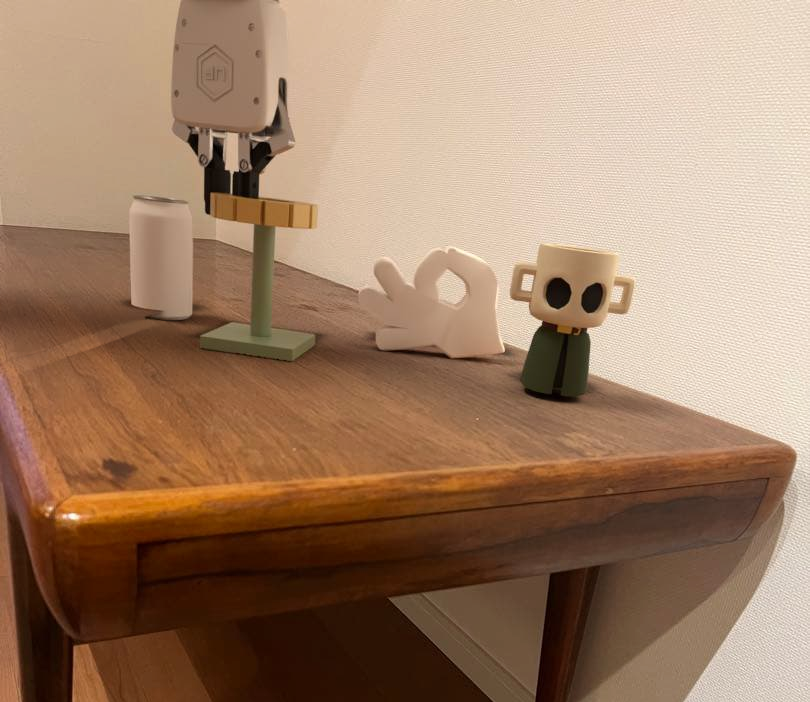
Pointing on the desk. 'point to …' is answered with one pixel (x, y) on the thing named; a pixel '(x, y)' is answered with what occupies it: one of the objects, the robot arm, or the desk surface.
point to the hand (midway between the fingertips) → (230, 215)
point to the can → (161, 256)
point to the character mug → (567, 312)
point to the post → (260, 313)
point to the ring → (264, 211)
